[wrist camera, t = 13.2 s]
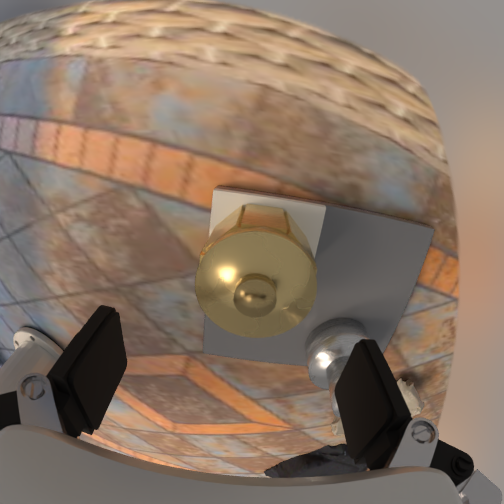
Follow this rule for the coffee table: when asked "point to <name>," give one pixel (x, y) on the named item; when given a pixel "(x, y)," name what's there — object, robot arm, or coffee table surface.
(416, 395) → the beige bone fragment
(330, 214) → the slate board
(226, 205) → the pad
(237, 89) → the coffee table surface
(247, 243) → the gold lidded jar
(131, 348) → the coffee table surface
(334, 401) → the grey knob
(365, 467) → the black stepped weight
